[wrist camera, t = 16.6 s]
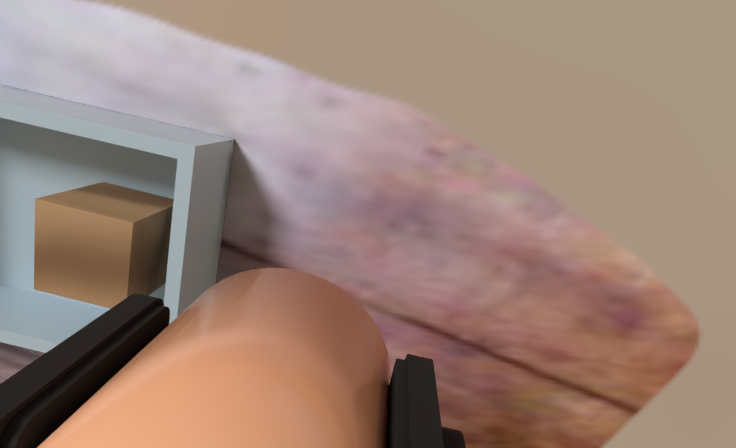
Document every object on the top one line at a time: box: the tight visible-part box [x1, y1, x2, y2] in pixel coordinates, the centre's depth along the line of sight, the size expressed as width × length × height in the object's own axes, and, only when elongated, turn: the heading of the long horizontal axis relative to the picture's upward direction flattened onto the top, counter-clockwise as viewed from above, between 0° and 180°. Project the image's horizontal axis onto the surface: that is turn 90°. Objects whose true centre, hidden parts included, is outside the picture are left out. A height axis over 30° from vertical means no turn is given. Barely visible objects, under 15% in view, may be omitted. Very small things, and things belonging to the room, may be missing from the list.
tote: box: [0, 85, 235, 353], centre depth 25 cm, size 18×14×5 cm
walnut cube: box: [34, 182, 174, 309], centre depth 24 cm, size 5×5×5 cm
